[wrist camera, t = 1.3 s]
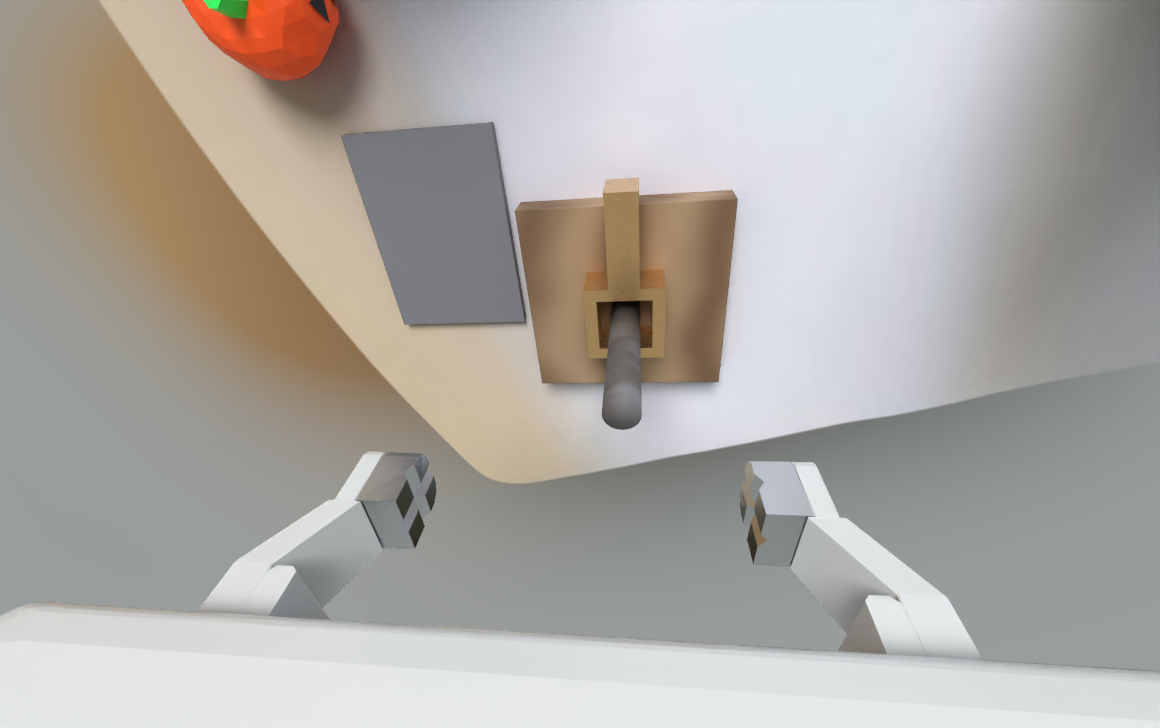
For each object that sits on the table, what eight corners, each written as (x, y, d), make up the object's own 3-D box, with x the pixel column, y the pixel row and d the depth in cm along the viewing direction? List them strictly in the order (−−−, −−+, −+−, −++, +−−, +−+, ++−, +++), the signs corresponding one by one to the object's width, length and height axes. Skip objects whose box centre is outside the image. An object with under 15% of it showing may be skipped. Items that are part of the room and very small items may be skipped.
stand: (732, 190, 30) (789, 283, 19) (714, 367, 38) (748, 508, 27) (521, 202, 32) (457, 294, 21) (546, 369, 40) (510, 502, 29)
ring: (665, 176, 28) (667, 189, 26) (662, 334, 35) (664, 357, 32) (580, 181, 29) (574, 195, 27) (592, 336, 35) (588, 358, 33)
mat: (493, 122, 29) (490, 123, 29) (526, 317, 37) (524, 321, 37) (345, 134, 31) (340, 135, 30) (407, 320, 39) (404, 324, 38)
